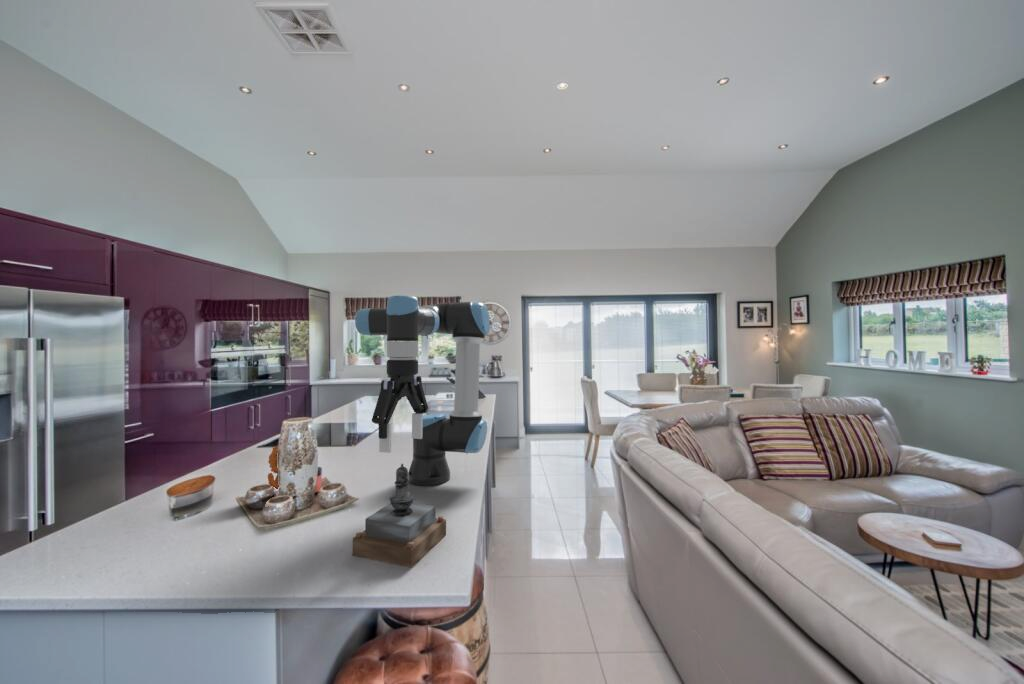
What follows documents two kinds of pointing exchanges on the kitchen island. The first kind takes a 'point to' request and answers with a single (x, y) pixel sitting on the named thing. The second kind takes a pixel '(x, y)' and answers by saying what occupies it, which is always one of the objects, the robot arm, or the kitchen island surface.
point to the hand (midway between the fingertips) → (402, 444)
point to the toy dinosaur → (273, 468)
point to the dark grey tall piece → (401, 494)
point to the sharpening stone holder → (400, 535)
